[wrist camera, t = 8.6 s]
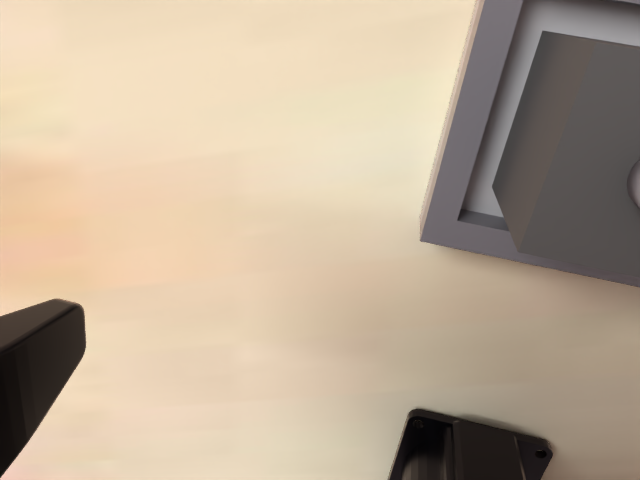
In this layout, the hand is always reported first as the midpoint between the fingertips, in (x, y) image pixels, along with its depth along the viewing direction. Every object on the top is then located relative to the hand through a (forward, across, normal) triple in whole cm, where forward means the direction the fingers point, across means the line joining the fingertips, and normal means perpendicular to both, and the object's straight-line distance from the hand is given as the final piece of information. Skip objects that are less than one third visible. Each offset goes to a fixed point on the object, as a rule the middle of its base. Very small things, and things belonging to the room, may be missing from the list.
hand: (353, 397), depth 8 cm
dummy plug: (+12, -6, -3) cm, 14 cm away
